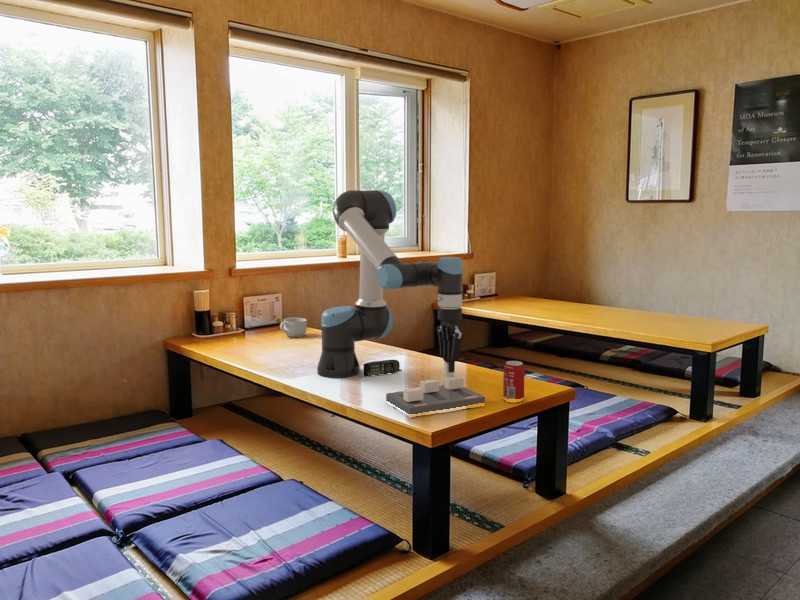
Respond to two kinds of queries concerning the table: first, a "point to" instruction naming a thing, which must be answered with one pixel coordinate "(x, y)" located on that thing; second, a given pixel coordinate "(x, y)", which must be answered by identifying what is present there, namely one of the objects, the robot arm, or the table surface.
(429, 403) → the switch plate
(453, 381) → the tab
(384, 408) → the table surface
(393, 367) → the mobile phone
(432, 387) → the tab
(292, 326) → the teacup
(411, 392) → the tab
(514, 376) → the beverage can
